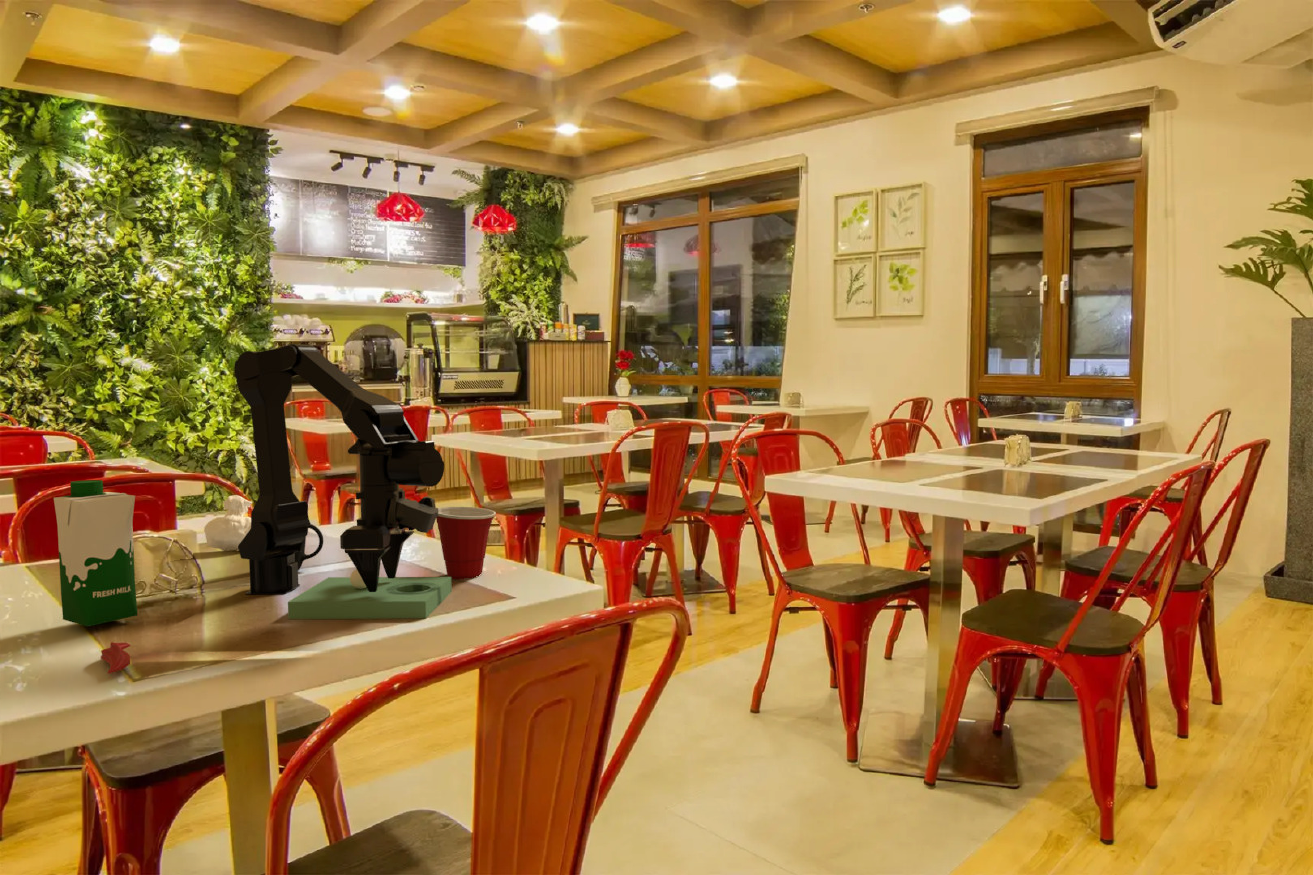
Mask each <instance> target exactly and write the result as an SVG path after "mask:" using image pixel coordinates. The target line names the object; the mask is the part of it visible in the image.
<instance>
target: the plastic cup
mask: <svg viewBox="0 0 1313 875" xmlns="http://www.w3.org/2000/svg"><path fill="white" fill-rule="evenodd" d="M437 508H438V514H439V515H438V517H437V518H436V520H435V521H436V524H437V529H438V534H439V538H440V544H441V551H442V555H443V560H444V564H445V565H444V566H445V569H446V575H447V577H451V580H452V579H453V580H465V579H464V578H470V579H475V578H477V577H476V576H478V577H480V576H481V575H482V573H483V570H484V569H483V568H484V560H485V558H486V551H487V544H488V539H489V532H490V529H491V526H492V523H493V519H494V517H496V514H497V513H496V511H494V510H493V509H488V508H483V507H482V508H481V507H473V506H442V507H437ZM480 574H481V575H480ZM479 575H480V576H479ZM474 577H475V578H474Z"/></svg>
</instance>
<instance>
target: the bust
mask: <svg viewBox="0 0 1313 875" xmlns="http://www.w3.org/2000/svg"><path fill="white" fill-rule="evenodd" d="M222 504H223V510H224V511H225V510H226V513H225V514H224V516H223V517H221V516H218V517H216V518H213V519H211V520H210V521H209V522H207V523H206V524H205V525H204V527H203V528H204V529H203V530H204V534H205V540H206V544H207V546H208V547H210V548H214V549H219V550H221V551H224V552H226V551H239V549H238V545H239V544H240V543H241V541H242V540H243V539H244V537H245V536H246V535H247V533H248V532H249V531H250V529H251V516H246V517H245V516H244V515H245V514H247V513H248V512H249V508H251V505H252V504H253V501H250V500H248V499H245V497H242V496H240V495H238V494H235V495H229V496H227V498H226V499H225V500H224V501H223V502H222Z"/></svg>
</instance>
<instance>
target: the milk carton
mask: <svg viewBox="0 0 1313 875" xmlns="http://www.w3.org/2000/svg"><path fill="white" fill-rule="evenodd" d="M103 482H104V481H103V480H102V479H86V480H85V479H84V480H75V481H70V482H69V483H70V485H69V486H70V495H62V496H58V497H53V503H54V510H55V516H56V517H55V518H56V524H57V538H58V539H57V540H58V541H57V543H58V560H59V564H58V566H59V580H60V584H59V585H60V596H61V608H62V609H61V611H62V612H61V613H62V620H64V621H65V622H70V623H73V624H77V625H82V626H85V627H87V628H88V627H92V626H96V625H100V624H105V623H109V622H112V621H113V622H114V621H118V620H119V621H120V620H123V619H128V618H131V617H137V616H138V604H137V601H138V600H137V591H136V590H137V588H136V578H135V577H136V575H135V574H136V573H135V552H134V548H135V547H134V531H133V528H134V527H133V526H134V525H133V520H134V518H133V517H134V509H135V502H136V500H135V499H136V495H132V494H127V493H125V492H121V493H120V492H114V491H113V492H112V491H111V492H110V491H107V492H106V491H105V492H104V483H103Z"/></svg>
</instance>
